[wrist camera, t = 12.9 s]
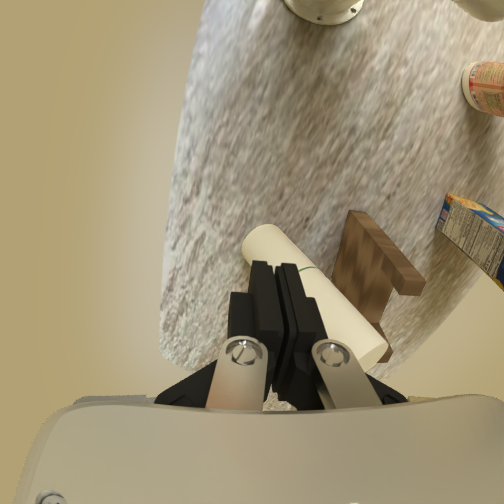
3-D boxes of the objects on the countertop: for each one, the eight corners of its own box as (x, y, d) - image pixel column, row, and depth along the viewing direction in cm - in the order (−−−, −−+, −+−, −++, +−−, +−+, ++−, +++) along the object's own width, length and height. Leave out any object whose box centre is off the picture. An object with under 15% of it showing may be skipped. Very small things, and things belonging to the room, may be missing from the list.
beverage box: (446, 193, 50) (526, 250, 31) (483, 204, 51) (557, 258, 32) (435, 227, 53) (505, 294, 34) (472, 235, 54) (540, 296, 35)
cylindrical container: (255, 268, 54) (348, 387, 37) (233, 247, 49) (334, 380, 32) (287, 239, 54) (390, 350, 37) (269, 215, 48) (385, 336, 32)
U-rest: (349, 209, 51) (405, 280, 32) (365, 212, 51) (426, 281, 33) (331, 277, 57) (368, 363, 39) (346, 278, 57) (387, 362, 39)
